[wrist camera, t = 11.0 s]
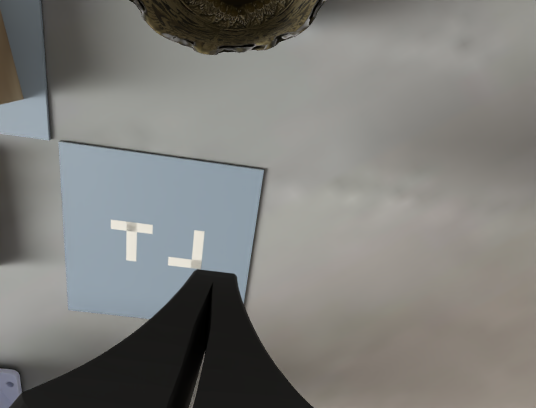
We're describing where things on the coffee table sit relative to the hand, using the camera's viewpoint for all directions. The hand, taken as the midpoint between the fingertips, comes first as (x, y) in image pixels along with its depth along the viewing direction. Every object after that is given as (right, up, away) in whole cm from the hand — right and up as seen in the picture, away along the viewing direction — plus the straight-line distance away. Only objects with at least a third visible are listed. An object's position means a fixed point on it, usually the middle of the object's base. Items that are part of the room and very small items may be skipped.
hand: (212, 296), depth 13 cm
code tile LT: (-5, +1, +10) cm, 11 cm away
